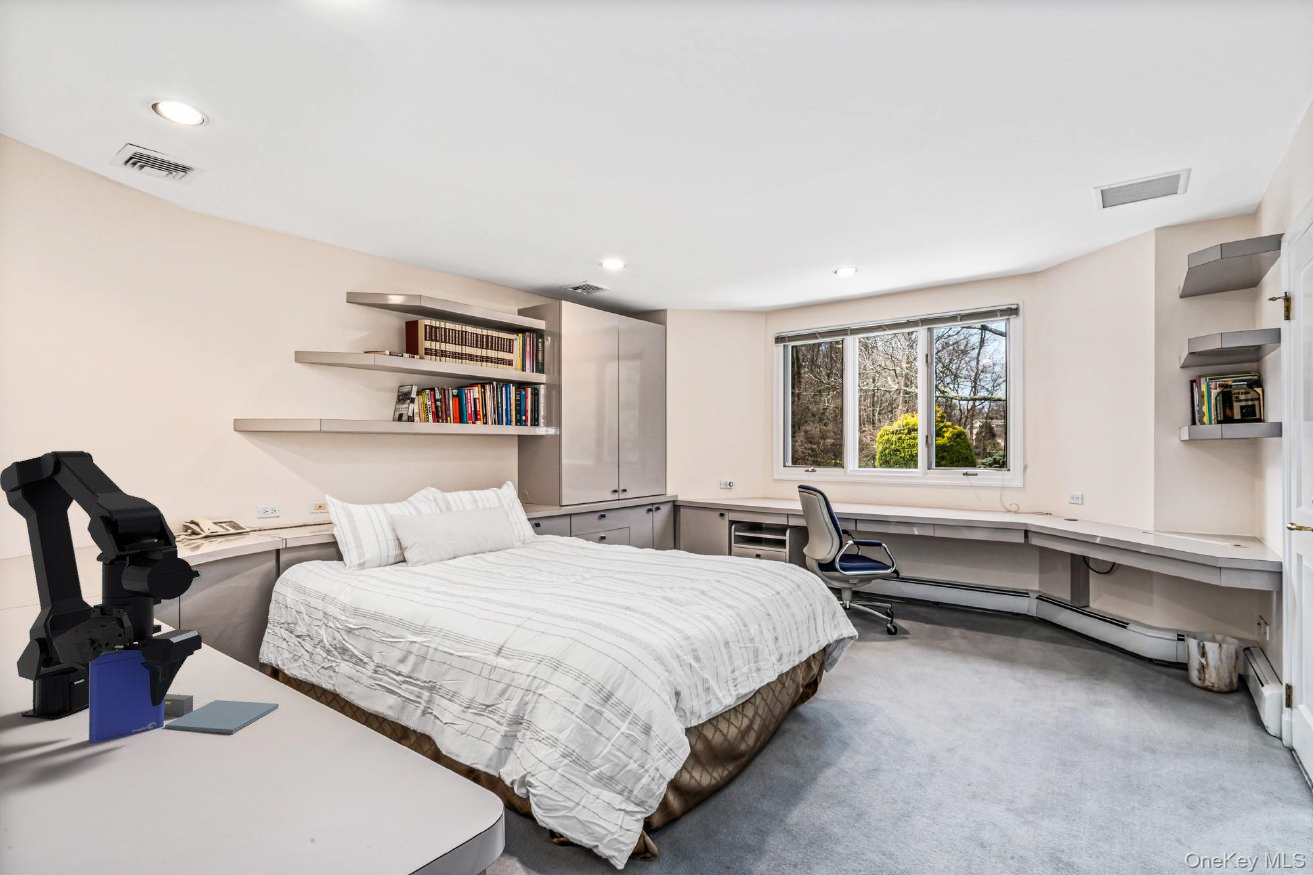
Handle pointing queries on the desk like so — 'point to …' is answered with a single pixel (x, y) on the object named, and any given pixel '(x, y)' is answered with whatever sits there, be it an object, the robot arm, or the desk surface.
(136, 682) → the hard drive
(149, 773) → the desk surface
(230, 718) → the mat
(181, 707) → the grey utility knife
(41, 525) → the robot arm
